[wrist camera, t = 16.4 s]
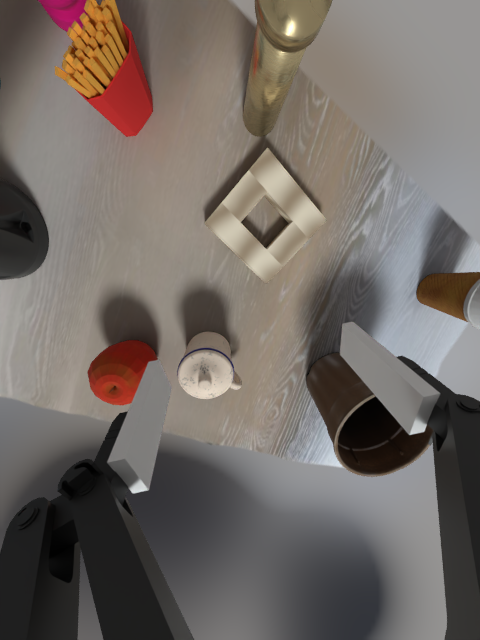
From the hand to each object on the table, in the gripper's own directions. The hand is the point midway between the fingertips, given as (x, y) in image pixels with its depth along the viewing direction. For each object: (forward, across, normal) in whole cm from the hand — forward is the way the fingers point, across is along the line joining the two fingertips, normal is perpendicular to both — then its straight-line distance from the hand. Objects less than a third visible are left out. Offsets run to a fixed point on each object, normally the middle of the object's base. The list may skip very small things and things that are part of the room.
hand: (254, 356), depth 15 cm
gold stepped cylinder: (+30, +9, +20) cm, 37 cm away
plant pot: (+21, +18, -27) cm, 38 cm away
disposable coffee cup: (+24, +39, -11) cm, 47 cm away
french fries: (+30, -10, +23) cm, 39 cm away
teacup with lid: (+23, -6, -16) cm, 29 cm away
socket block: (+27, +7, +6) cm, 28 cm away
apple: (+23, -21, -13) cm, 34 cm away
